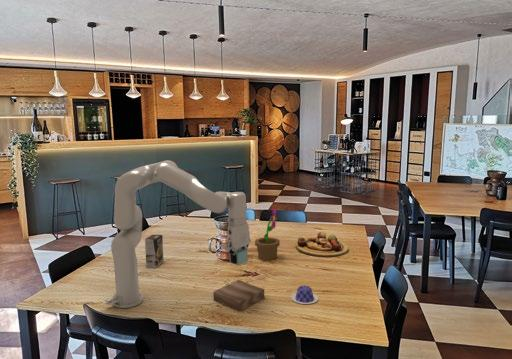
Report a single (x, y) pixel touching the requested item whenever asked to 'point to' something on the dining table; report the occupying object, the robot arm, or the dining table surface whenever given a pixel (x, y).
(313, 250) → the wooden plate with food
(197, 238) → the dining table surface
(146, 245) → the coffee box
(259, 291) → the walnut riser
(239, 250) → the teal cube
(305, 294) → the pudding
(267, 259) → the flowerpot
